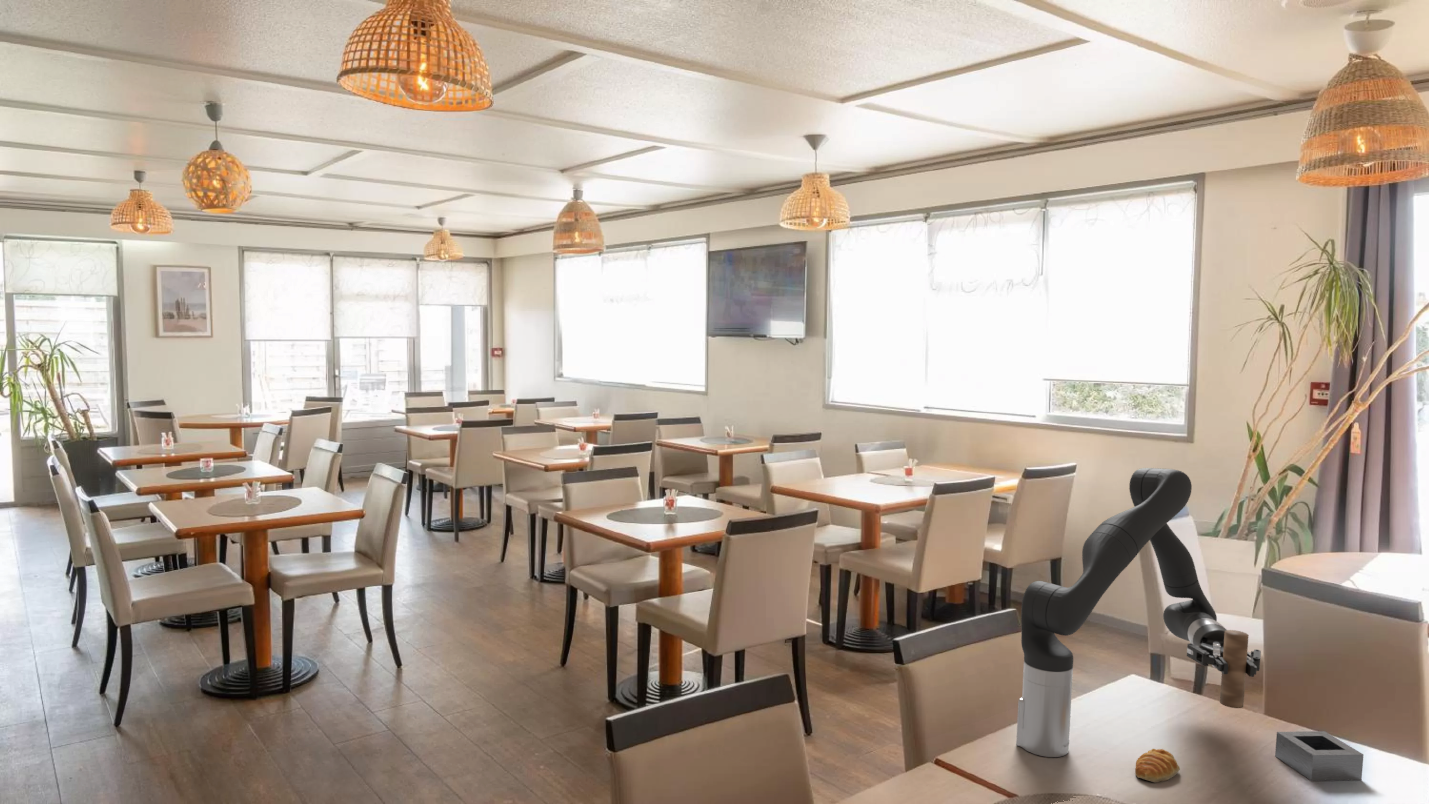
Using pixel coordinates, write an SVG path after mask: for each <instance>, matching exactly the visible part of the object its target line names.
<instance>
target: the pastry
mask: <svg viewBox="0 0 1429 804" xmlns="http://www.w3.org/2000/svg"><path fill="white" fill-rule="evenodd" d="M1180 769H1181V768H1180V766H1179V764H1178V761H1177V760H1176V758H1175V757H1174V755H1173V753H1171V752H1169V751H1168V750H1165V749H1163V748H1158V749H1156V748H1152V749H1151V750H1147V752H1145V753H1142V754H1141V755H1140V756H1139V757H1138V758H1137V759H1136V762H1135V771H1134V772H1135V773H1134V774H1135V775H1136V777H1137V778H1138V779H1139V778H1140V779H1142V780H1146V781H1149V782H1152V783H1158V782H1167V781H1169V779H1170V780H1171V779H1172V778H1173V777H1175V776H1177V774H1178V773H1179V771H1180Z"/></svg>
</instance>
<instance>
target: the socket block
mask: <svg viewBox="0 0 1429 804" xmlns="http://www.w3.org/2000/svg"><path fill="white" fill-rule="evenodd" d="M1275 737H1276V740H1275V741H1276V742H1275V752H1274V753H1275V754H1274V757H1276V758H1277V759H1279V760H1280V761H1281V762H1283V763H1284V764H1286V765H1287V766H1289V767H1290V768H1292V769H1293V770H1294V771H1296V772H1297V773H1299V774H1301V775H1302V776H1304V777H1305V778H1306V777H1307V778H1306V779H1308V780H1309V781H1311V782H1315V781H1317V782H1318V781H1322V782H1323V781H1324V782H1326V781H1329V782H1330V781H1331V782H1333V781H1362V778H1363V777H1362V776H1363V767H1364V766H1363V765H1364V753H1362V752H1361V751H1358V750H1357V749H1355V748H1353V747H1352V746H1350V745H1349V744H1347V743H1345V742H1343V741H1342V740H1341V739H1338V738H1336V737H1335V736H1334V735H1332V734H1330V733H1329V732H1327V731H1324V730H1323V731H1322V730H1321V731H1319V730H1318V731H1317V730H1316V731H1311V730H1310V731H1277V732H1276V736H1275Z"/></svg>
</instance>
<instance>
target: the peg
mask: <svg viewBox="0 0 1429 804" xmlns="http://www.w3.org/2000/svg"><path fill="white" fill-rule="evenodd" d="M1248 648H1249V634H1248V633H1247V632H1244V631H1241V630H1235V629H1226V631H1225V634H1224V648H1223V659H1224V660H1225V661H1226V662H1227V663H1228V674H1223V673H1222V672H1221V678H1220V679H1221V681H1220V694H1219V703H1220V704H1221V705H1223V706H1224V707H1228V708H1231V709H1243V708H1244V704H1245V703H1244V701H1245V689H1246V677H1247V676H1246V675H1247V673H1246V664H1247V652H1248Z"/></svg>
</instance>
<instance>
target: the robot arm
mask: <svg viewBox="0 0 1429 804" xmlns="http://www.w3.org/2000/svg"><path fill="white" fill-rule="evenodd" d="M1192 486H1193V485H1192V481H1191V479H1190V477H1189V476H1188V474H1187V473H1185V472H1184V471H1182V470H1178V469H1173V468H1158V467H1157V468H1156V467H1155V468H1154V467H1143V468H1139V469H1138V468H1137V469H1136V470H1135V471H1134V472H1133V473H1132V475H1131V477H1130V479H1129V488H1128V489H1129V495H1130V499H1131V501H1132V504H1133V507H1131V508H1129V509H1127V510H1124V511H1122V512H1119V513H1116V514H1115V515H1113V516H1111V517H1109V518H1107V519H1105V520H1104V521H1102V522H1101V523H1100V524H1099V525H1098V526H1097V527H1096V528H1095V529H1094V530H1093V531H1092V532H1091V534H1090V535H1089V536H1088V537H1087V539H1086V540H1085V541H1084V542H1083V546H1082V550H1081V551H1082V552H1081V558H1082V560H1081V561H1082V574H1081V576H1080V577H1079V578H1078V580H1077V581H1076V582H1075V583H1074V584H1072V585H1071V586H1069V587H1065V586H1062V585H1058V584H1054V583H1051V582H1048V581H1047V582H1046V581H1042V580H1036V581H1033V582H1031V583H1030V584H1029V585H1028V586H1027V587H1026V589H1025V591H1024V593H1023V597H1022V601H1021V606H1020V607H1021V608H1020V611H1021V613H1020V614H1021V615H1020V623H1021V626H1020V628H1021V630H1020V631H1021V634H1020V635H1021V636H1020V637H1021V639H1020V641H1021V648H1022V652H1023V671H1022V696H1021V697H1020V698H1019V699H1018V701H1017V703H1018V704H1017V705H1018V707H1017V719H1016V720H1017V723H1016V724H1017V725H1016V741H1015V742H1016V744H1015V745H1016V746H1018V747H1019V748H1020V747H1021V748H1022V749H1023V750H1025V751H1027V752H1029V753H1031V754H1033V755H1036V756H1040V757H1047V758H1059V757H1063V756H1066V755H1067V754H1068V753H1069V746H1070V731H1071V729H1070V728H1071V711H1072V695H1073V694H1072V691H1073V674H1074V673H1073V672H1074V654H1073V652H1072V651H1071V650H1070V649H1069V647H1067V646H1066V645H1065V644H1064V643H1063V642H1061V640H1060V639H1059V638H1058V637H1057V635H1060V636H1067V637H1068V636H1071V635H1072V636H1073V635H1074V634H1075V633H1076V632H1077V631H1078V630H1080V628H1082V626H1083V625H1084V624H1085V622H1086V621H1087V620H1088V618H1089V616H1090V615H1091V614H1092V612H1093V610H1094V609H1095V607H1096V606H1097V604H1098V602H1099V601H1100V600H1101V598H1102V596H1103V595H1104V594H1105V593H1106V592H1107V590H1108V589H1109V588H1110V586H1111V585H1112V584H1113V583H1114V581H1116V579H1117V578H1118V577H1119V576H1120V574H1121V573H1122V572H1123V571H1124V570H1126V569H1127V567H1128V566H1129V565H1130V564H1131V563H1132V561H1134V559H1135V558H1136V557H1137V555H1138V554H1139V553H1140V552H1141V550H1142V549H1143V548H1144V547H1145V545H1146V544H1148V543H1149V542H1150V544H1151V546H1152V548H1153V550H1154V553H1155V557H1156V559H1157V562H1158V566H1159V570H1160V574H1161V578H1162V582H1163V586H1164V589H1165V592H1166V593H1167V595H1169V596H1170V597H1173V598H1176V599H1177V598H1178V599H1179V598H1180V599H1190V600H1186V601H1185V600H1184V601H1181V602H1177V603H1176V602H1175V603H1172V604H1169V605H1167V606H1166V607H1165V609H1164V610H1163V612H1162V613H1163V615H1162V618H1163V623H1164V625H1165V626H1166V628H1167V629H1168V630H1169V632H1170V633H1171V634H1173V635H1174V636H1176V637H1177V638H1180V639H1181V640H1185V641H1187V642H1189V643H1187V647H1186V657H1188V658H1189V659H1191V660H1193V661H1195V662H1196V663H1198V664H1200V665H1201V666H1203V667H1209V665H1211V666H1212V668H1214V669H1216V670H1217V671H1218V672H1220V673H1221V674H1222V673H1223V674H1228V663H1227V662H1226V661H1225V660H1224V659H1223V648H1224V634H1225V631H1226V630H1227V628H1225V626H1224V625H1222V624H1221V623H1220V622H1218V621H1217V619H1218V618H1217V614H1216V611H1215V609H1214V607H1213V606H1212V605H1211V603H1210V601H1209V600H1208V598H1207V597H1206V595H1205V593H1204V591H1203V589H1202V587H1201V585H1200V582H1199V579H1198V574H1197V570H1196V566H1195V562H1194V560H1193V557H1192V555H1191V553H1190V551H1189V550H1188V548H1187V547H1186V545H1185V544H1184V542H1182V541H1181V539H1180V538H1179V537H1178V536H1177V535H1176V534H1175V532H1174V531H1173V530H1172V529H1171V527H1170V526H1169V524H1168V523H1169V522H1170V521H1171V520H1172V519H1173V518H1174V517H1175V516H1176V515H1178V514H1179V513H1180V512H1181V511H1182V510H1183V509H1184V508H1185V507H1186V506H1187V504H1188V502H1189V500H1190V497H1191V494H1192ZM1261 651H1262V650H1260V649H1254V650H1251V651H1247V664H1246V675H1247V676H1248V677H1252V678H1253V677H1255V675H1257V672H1260V670H1261V669H1260V667H1261V655H1262V652H1261Z"/></svg>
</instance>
